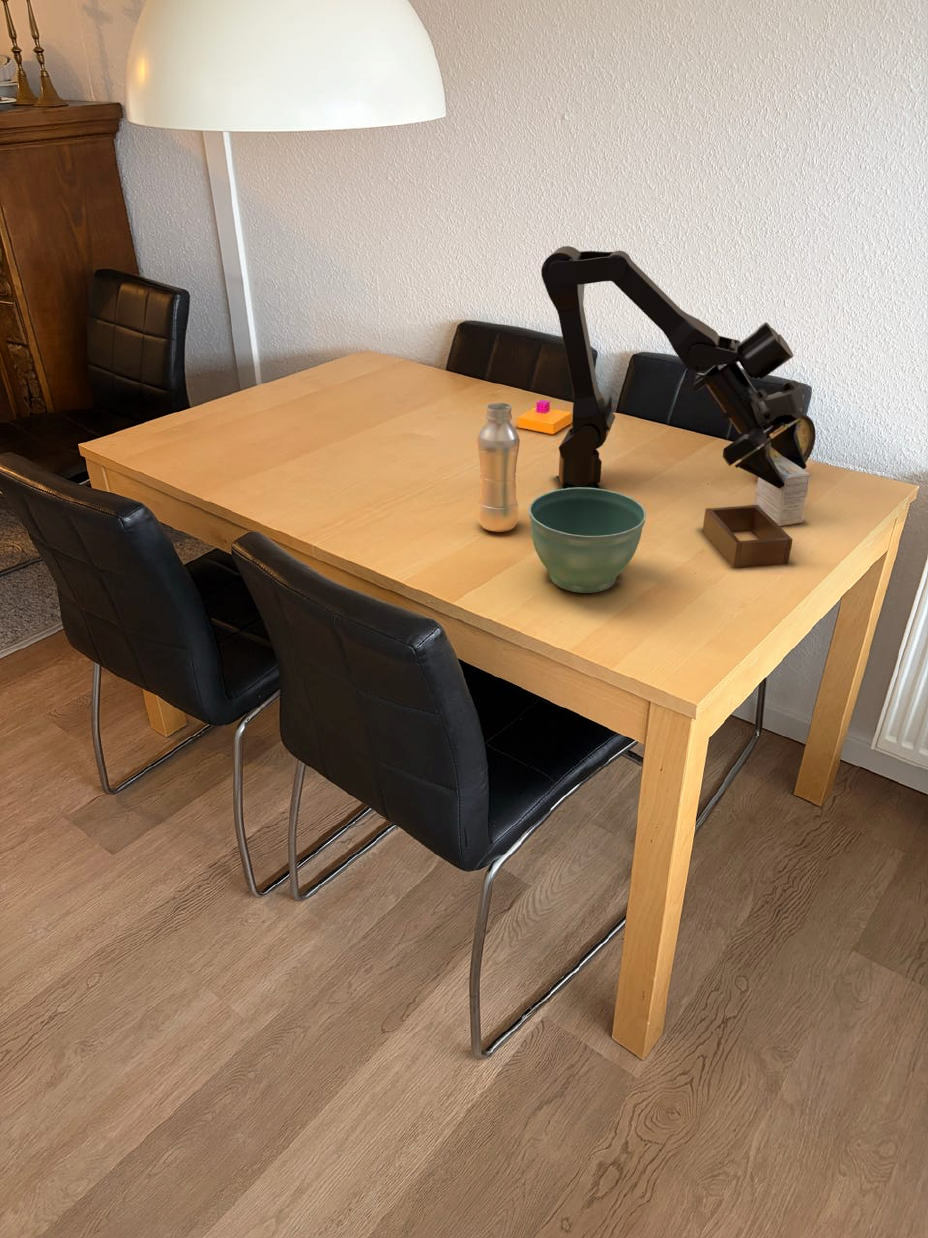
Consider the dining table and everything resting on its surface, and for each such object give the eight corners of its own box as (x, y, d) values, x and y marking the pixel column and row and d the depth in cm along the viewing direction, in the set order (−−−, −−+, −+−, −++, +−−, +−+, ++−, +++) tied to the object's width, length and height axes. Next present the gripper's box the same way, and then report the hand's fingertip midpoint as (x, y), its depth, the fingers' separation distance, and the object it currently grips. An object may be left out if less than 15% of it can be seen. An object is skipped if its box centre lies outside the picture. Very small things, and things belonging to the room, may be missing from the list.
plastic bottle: (506, 540, 152) (508, 416, 142) (469, 530, 155) (468, 408, 145) (526, 525, 157) (529, 404, 147) (489, 516, 160) (490, 396, 150)
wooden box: (733, 567, 144) (736, 543, 142) (702, 531, 155) (705, 508, 153) (788, 563, 145) (792, 539, 143) (753, 527, 156) (757, 504, 154)
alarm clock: (763, 486, 170) (778, 395, 162) (742, 476, 174) (755, 387, 166) (810, 475, 174) (827, 386, 166) (789, 465, 178) (804, 377, 170)
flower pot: (663, 586, 139) (670, 516, 134) (573, 618, 132) (577, 545, 126) (590, 544, 151) (595, 479, 145) (505, 571, 143) (506, 503, 138)
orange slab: (571, 422, 198) (572, 402, 196) (552, 434, 193) (553, 413, 190) (536, 416, 202) (537, 396, 200) (517, 427, 196) (518, 406, 194)
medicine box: (802, 524, 157) (811, 473, 152) (777, 527, 156) (786, 476, 151) (776, 504, 163) (784, 455, 159) (752, 507, 162) (760, 458, 158)
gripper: (753, 382, 143) (813, 470, 143) (800, 354, 156) (855, 434, 156) (697, 423, 151) (754, 506, 151) (746, 393, 164) (799, 469, 164)
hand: (793, 477), depth 155 cm, fingers open, 9 cm apart
